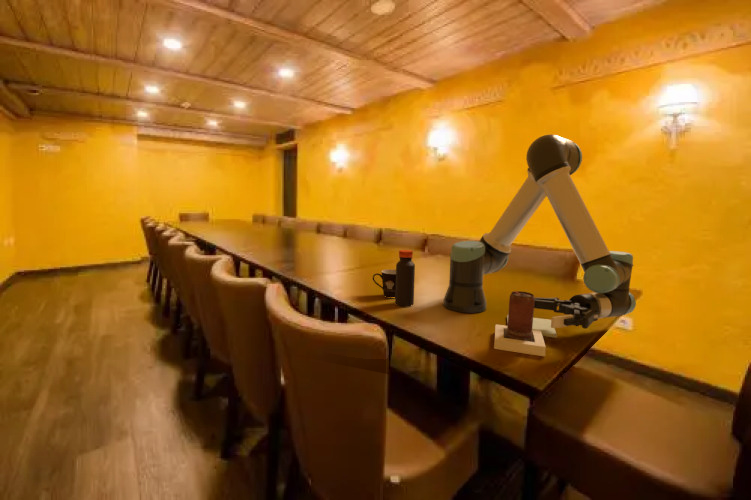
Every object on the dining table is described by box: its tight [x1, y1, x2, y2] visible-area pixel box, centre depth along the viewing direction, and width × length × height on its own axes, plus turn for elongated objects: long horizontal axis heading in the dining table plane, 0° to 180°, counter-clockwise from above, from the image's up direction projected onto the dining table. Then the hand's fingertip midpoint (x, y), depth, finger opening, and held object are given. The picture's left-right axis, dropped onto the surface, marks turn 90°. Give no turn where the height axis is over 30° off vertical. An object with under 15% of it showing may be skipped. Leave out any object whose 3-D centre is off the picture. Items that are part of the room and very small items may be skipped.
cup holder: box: [493, 324, 547, 358], centre depth 93 cm, size 12×12×2 cm
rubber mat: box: [506, 314, 558, 339], centre depth 105 cm, size 13×13×1 cm
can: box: [506, 290, 535, 342], centre depth 92 cm, size 6×6×14 cm
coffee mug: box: [372, 269, 396, 298], centre depth 137 cm, size 12×9×10 cm
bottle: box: [394, 249, 416, 307], centre depth 125 cm, size 7×7×20 cm
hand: (531, 314), depth 92 cm, fingers open, 13 cm apart
